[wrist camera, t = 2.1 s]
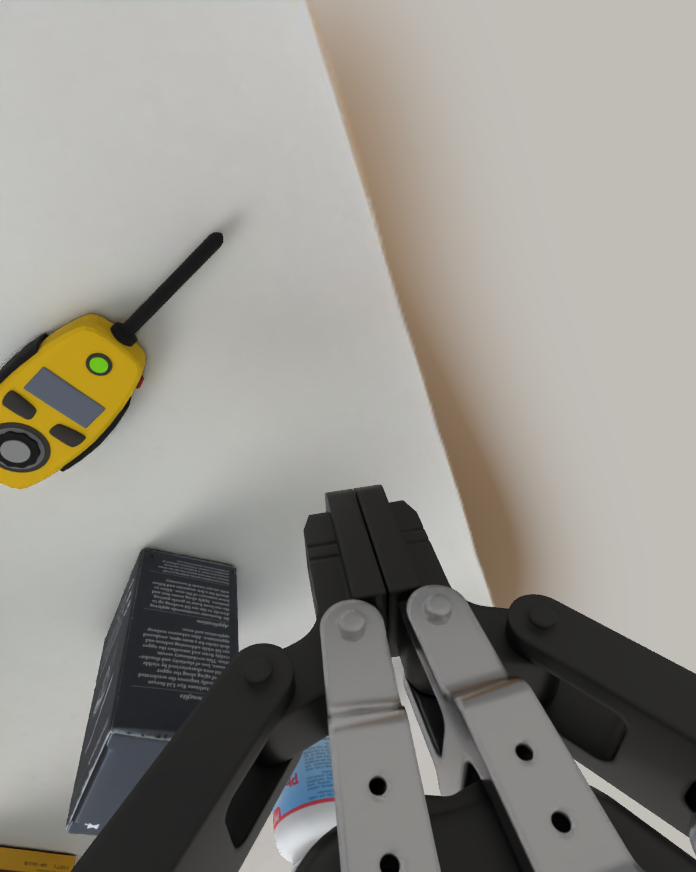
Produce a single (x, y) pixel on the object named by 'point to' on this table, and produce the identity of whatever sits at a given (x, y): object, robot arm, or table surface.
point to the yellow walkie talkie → (76, 385)
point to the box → (152, 675)
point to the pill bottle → (305, 804)
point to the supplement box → (34, 861)
